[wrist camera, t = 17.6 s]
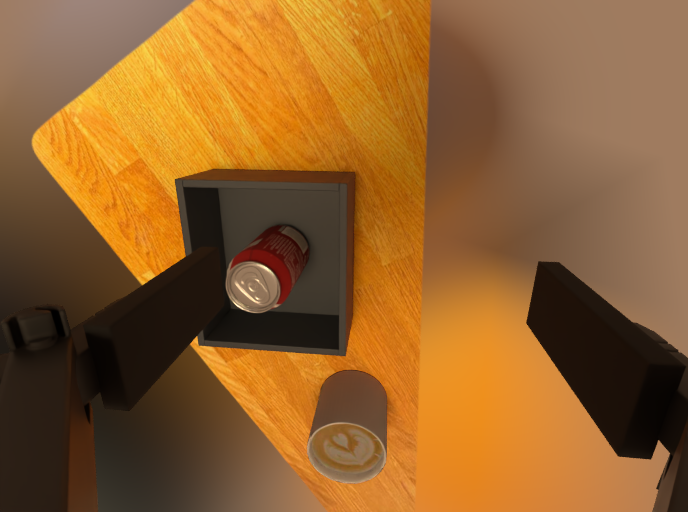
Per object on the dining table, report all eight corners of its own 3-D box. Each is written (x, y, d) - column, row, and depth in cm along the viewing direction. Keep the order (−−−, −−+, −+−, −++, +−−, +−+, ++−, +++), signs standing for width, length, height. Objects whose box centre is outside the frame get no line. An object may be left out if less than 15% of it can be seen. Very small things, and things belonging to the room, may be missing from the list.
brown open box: (355, 171, 44) (347, 183, 36) (352, 317, 51) (345, 356, 42) (213, 168, 46) (174, 179, 38) (228, 310, 53) (198, 345, 44)
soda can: (291, 213, 46) (260, 243, 35) (320, 258, 47) (299, 300, 36) (248, 239, 48) (205, 275, 36) (278, 282, 49) (245, 329, 38)
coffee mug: (321, 366, 54) (307, 417, 45) (390, 374, 53) (390, 428, 44) (318, 436, 59) (304, 496, 49) (381, 445, 58) (379, 508, 49)
